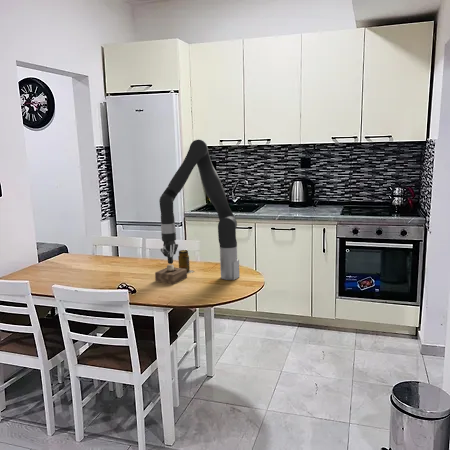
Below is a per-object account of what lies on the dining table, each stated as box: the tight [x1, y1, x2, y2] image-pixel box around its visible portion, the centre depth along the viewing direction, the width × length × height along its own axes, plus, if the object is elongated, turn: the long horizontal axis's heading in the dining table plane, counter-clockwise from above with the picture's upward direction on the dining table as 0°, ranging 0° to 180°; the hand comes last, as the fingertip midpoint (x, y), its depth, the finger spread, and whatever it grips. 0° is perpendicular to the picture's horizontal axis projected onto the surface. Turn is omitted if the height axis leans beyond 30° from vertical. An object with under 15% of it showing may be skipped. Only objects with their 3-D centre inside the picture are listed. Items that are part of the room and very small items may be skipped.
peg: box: [166, 264, 175, 272], centre depth 229 cm, size 4×4×8 cm
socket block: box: [154, 266, 188, 285], centre depth 230 cm, size 12×12×5 cm
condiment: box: [177, 249, 195, 274], centre depth 243 cm, size 7×8×12 cm
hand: (170, 263), depth 228 cm, fingers closed
